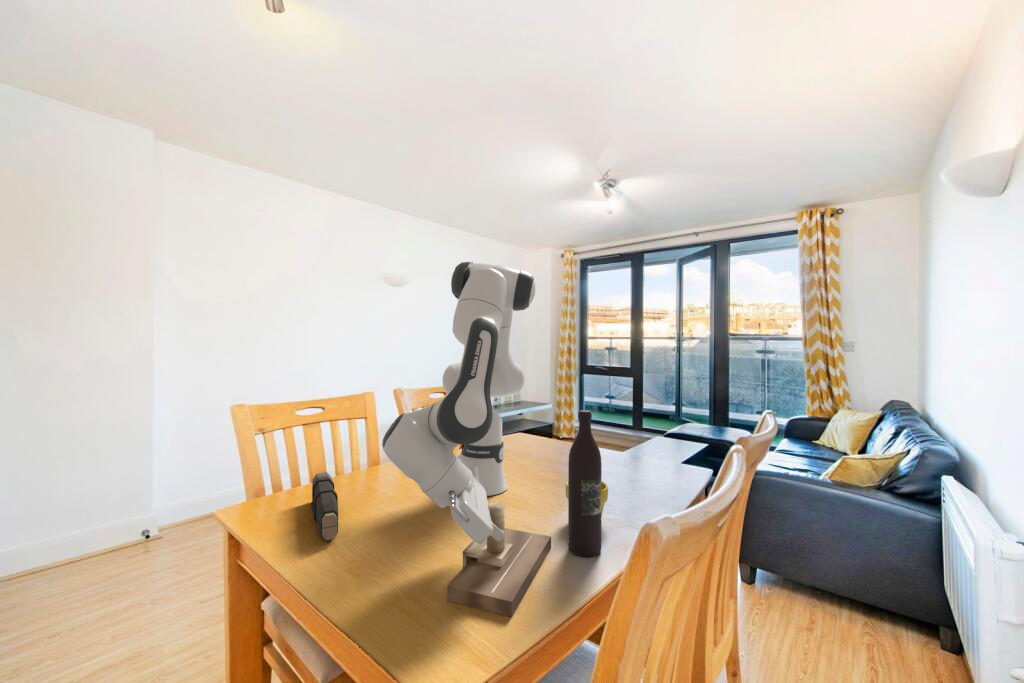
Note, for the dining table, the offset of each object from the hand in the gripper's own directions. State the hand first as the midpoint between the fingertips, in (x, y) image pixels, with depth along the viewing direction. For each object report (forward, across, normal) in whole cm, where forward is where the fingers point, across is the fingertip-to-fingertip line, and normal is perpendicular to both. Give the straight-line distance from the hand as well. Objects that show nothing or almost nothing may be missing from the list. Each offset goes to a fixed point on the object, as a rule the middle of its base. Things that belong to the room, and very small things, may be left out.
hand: (500, 530), depth 80 cm
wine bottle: (+19, +5, -8) cm, 21 cm away
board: (+6, -1, +5) cm, 8 cm away
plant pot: (+22, +18, -11) cm, 30 cm away
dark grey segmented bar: (-23, +28, +35) cm, 50 cm away
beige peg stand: (+3, +1, +7) cm, 7 cm away
